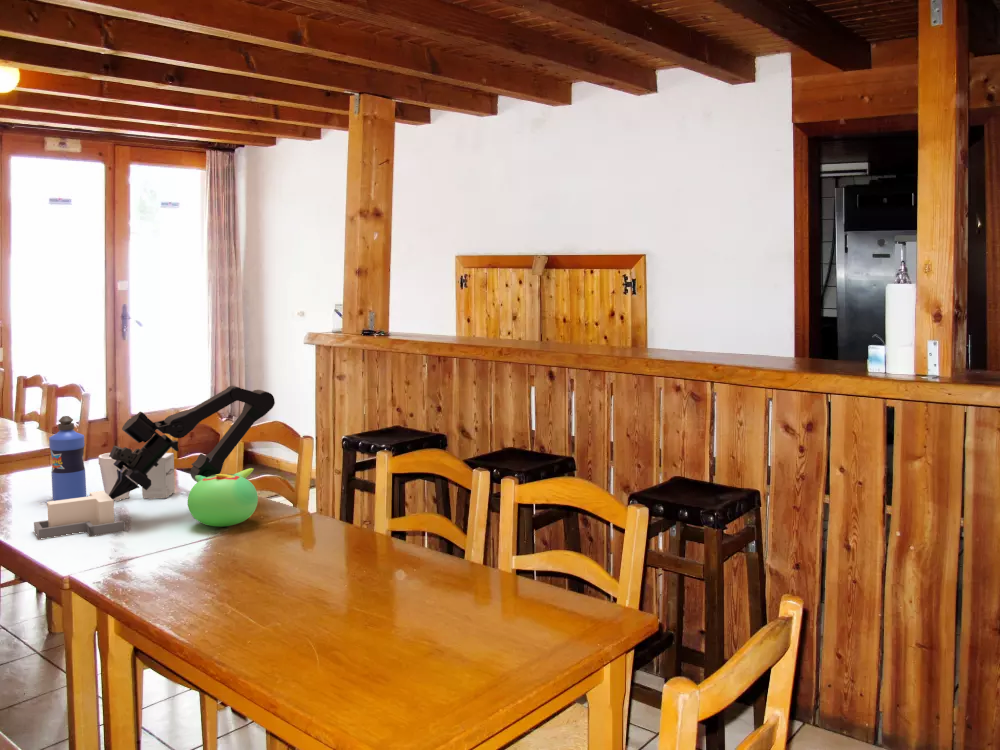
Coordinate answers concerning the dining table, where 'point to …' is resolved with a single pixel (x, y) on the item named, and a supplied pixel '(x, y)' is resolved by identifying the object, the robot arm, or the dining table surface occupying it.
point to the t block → (81, 510)
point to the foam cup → (109, 474)
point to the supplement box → (161, 478)
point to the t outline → (77, 528)
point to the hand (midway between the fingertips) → (109, 498)
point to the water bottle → (67, 462)
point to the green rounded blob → (223, 499)
